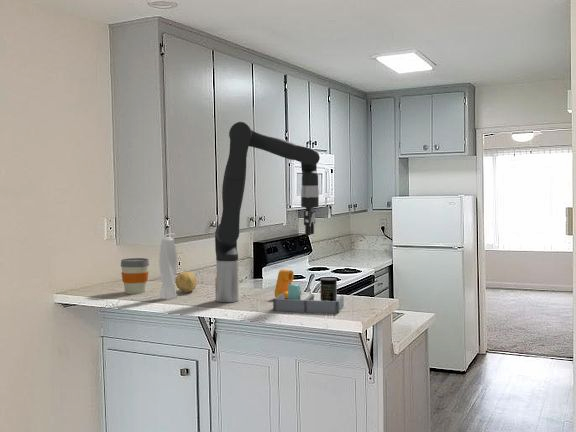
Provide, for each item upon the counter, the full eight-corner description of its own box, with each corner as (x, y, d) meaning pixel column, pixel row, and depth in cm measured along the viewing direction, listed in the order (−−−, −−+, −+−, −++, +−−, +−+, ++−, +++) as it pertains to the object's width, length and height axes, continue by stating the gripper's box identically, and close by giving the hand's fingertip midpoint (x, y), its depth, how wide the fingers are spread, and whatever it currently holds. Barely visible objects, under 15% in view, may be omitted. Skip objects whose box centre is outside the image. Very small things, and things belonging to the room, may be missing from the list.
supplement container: (338, 305, 251) (338, 280, 251) (321, 306, 251) (321, 280, 250) (335, 302, 258) (335, 277, 258) (319, 302, 257) (319, 277, 257)
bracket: (288, 300, 264) (288, 272, 263) (274, 298, 268) (274, 271, 267) (302, 296, 273) (302, 269, 272) (288, 295, 277) (288, 268, 276)
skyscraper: (169, 295, 274) (168, 232, 273) (181, 297, 270) (180, 233, 269) (155, 298, 268) (155, 233, 267) (168, 300, 264) (167, 234, 262)
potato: (169, 293, 281) (169, 272, 280) (186, 288, 294) (186, 268, 293) (188, 295, 277) (188, 273, 276) (205, 290, 290) (204, 269, 290)
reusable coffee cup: (153, 292, 283) (153, 260, 282) (126, 295, 276) (126, 261, 275) (143, 289, 293) (142, 257, 292) (117, 291, 286) (116, 259, 285)
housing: (281, 303, 255) (281, 282, 255) (343, 306, 249) (343, 284, 249) (273, 310, 241) (273, 287, 241) (338, 313, 236) (338, 289, 235)
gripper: (304, 196, 274) (304, 233, 274) (297, 196, 260) (297, 235, 260) (321, 196, 272) (321, 233, 273) (315, 196, 258) (315, 236, 259)
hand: (309, 234), depth 267 cm, fingers open, 7 cm apart
